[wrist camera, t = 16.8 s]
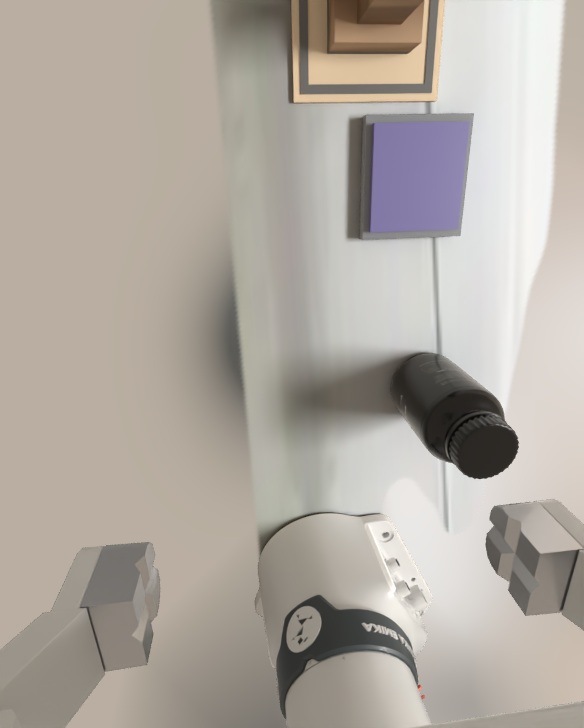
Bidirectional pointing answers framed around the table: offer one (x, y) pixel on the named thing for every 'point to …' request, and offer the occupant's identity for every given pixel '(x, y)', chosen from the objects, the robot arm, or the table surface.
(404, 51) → the stamp
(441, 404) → the supplement bottle
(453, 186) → the ink pad
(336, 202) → the table surface
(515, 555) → the robot arm
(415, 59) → the marked card
